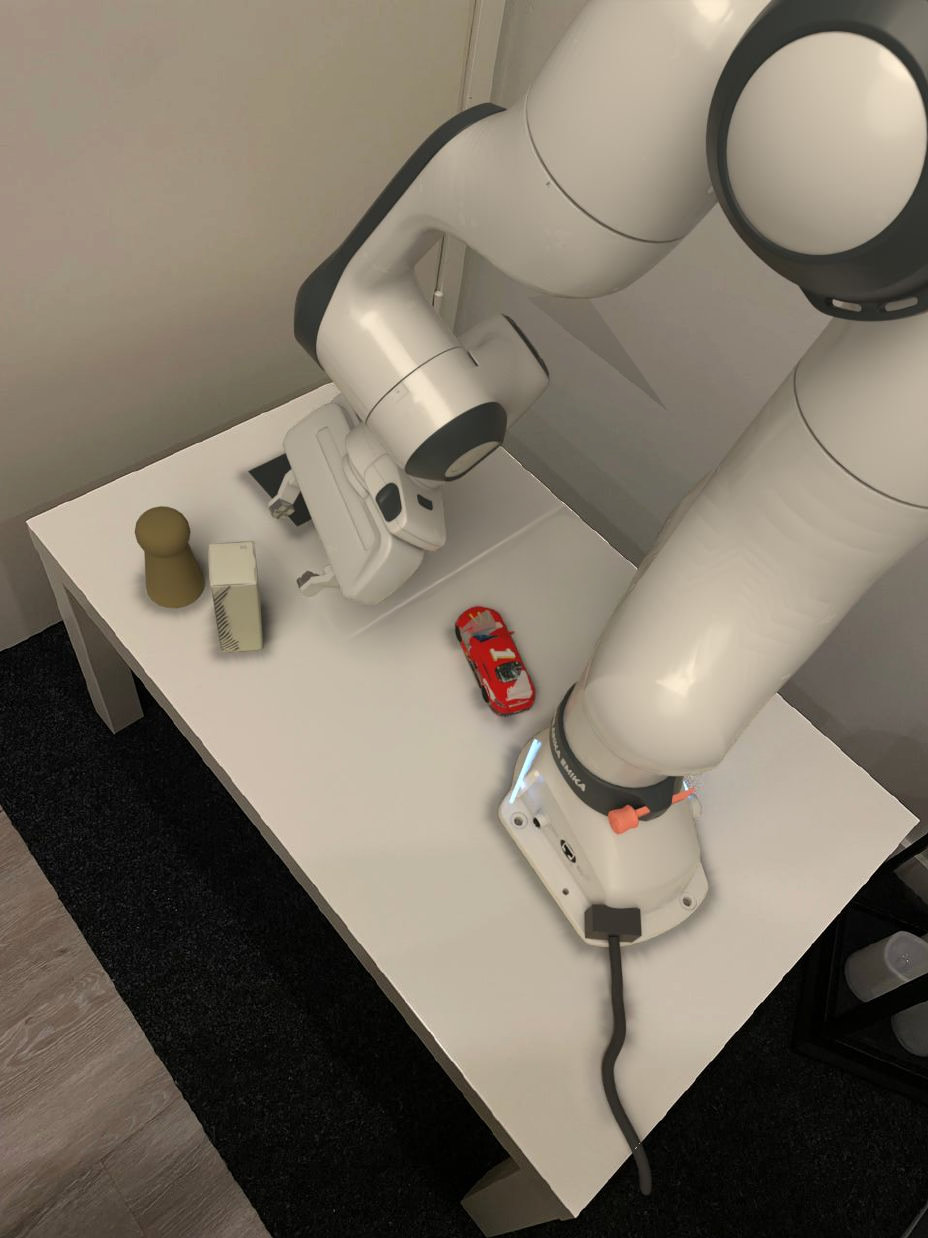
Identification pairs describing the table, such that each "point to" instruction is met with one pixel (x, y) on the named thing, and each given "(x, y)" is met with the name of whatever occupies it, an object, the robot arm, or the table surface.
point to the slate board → (271, 481)
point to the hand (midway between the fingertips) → (288, 550)
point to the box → (236, 595)
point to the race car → (495, 661)
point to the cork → (168, 558)
